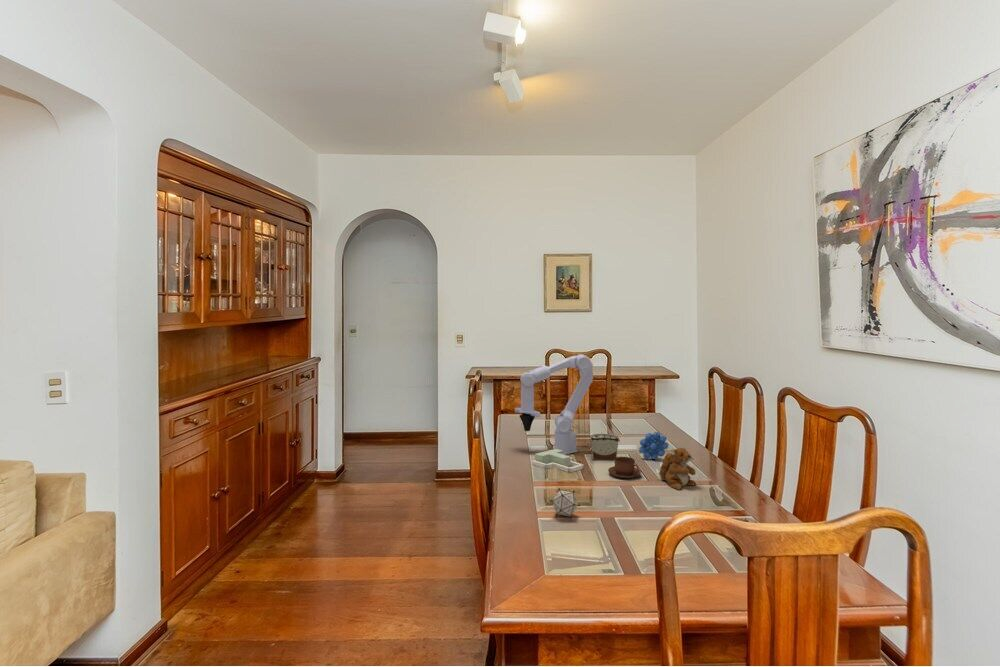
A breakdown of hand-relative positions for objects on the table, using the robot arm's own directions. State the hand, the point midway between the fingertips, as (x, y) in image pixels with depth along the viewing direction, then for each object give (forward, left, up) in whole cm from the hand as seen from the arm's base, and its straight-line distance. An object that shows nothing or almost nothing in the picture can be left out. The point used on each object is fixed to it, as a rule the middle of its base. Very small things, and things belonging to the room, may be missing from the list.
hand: (527, 430), depth 225 cm
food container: (-18, +28, -10) cm, 35 cm away
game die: (+39, +60, -10) cm, 72 cm away
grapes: (-33, +42, -10) cm, 54 cm away
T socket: (+3, +23, -9) cm, 25 cm away
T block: (+3, +21, -9) cm, 23 cm away
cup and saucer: (-7, +47, -10) cm, 49 cm away
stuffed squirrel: (-13, +64, -10) cm, 66 cm away
